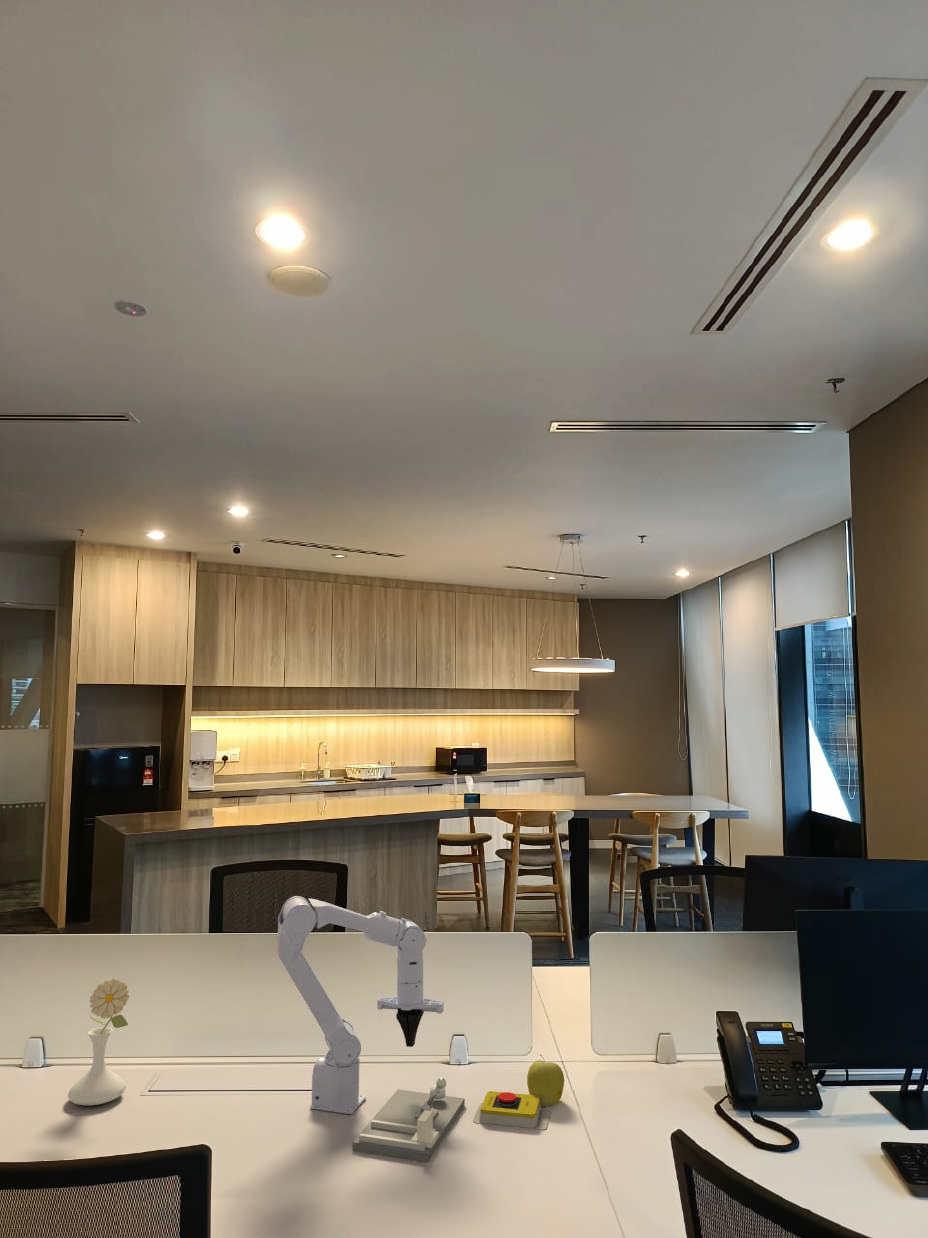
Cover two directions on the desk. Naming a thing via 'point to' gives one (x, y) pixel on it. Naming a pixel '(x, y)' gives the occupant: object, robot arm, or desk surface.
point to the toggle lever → (434, 1094)
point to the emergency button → (512, 1111)
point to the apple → (545, 1082)
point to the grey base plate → (407, 1126)
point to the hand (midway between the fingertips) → (410, 1045)
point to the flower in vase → (102, 1047)
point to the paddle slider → (425, 1130)
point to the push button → (440, 1094)
